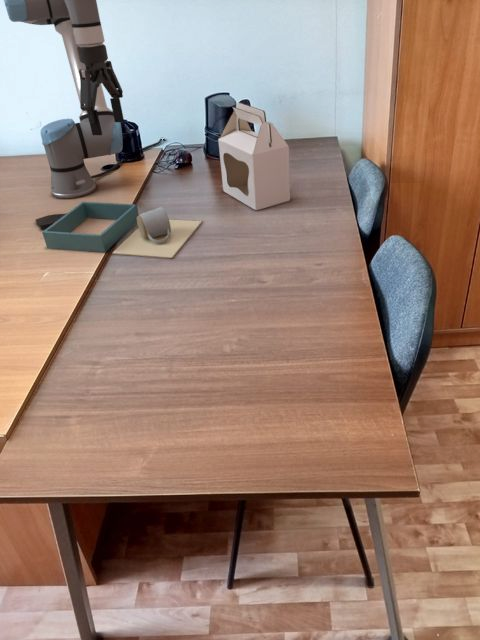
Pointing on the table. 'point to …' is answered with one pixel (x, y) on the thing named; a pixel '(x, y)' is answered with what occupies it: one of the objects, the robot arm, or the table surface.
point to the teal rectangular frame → (62, 239)
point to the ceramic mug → (154, 225)
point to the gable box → (254, 160)
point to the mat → (147, 248)
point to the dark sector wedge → (48, 220)
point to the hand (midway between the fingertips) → (108, 128)
